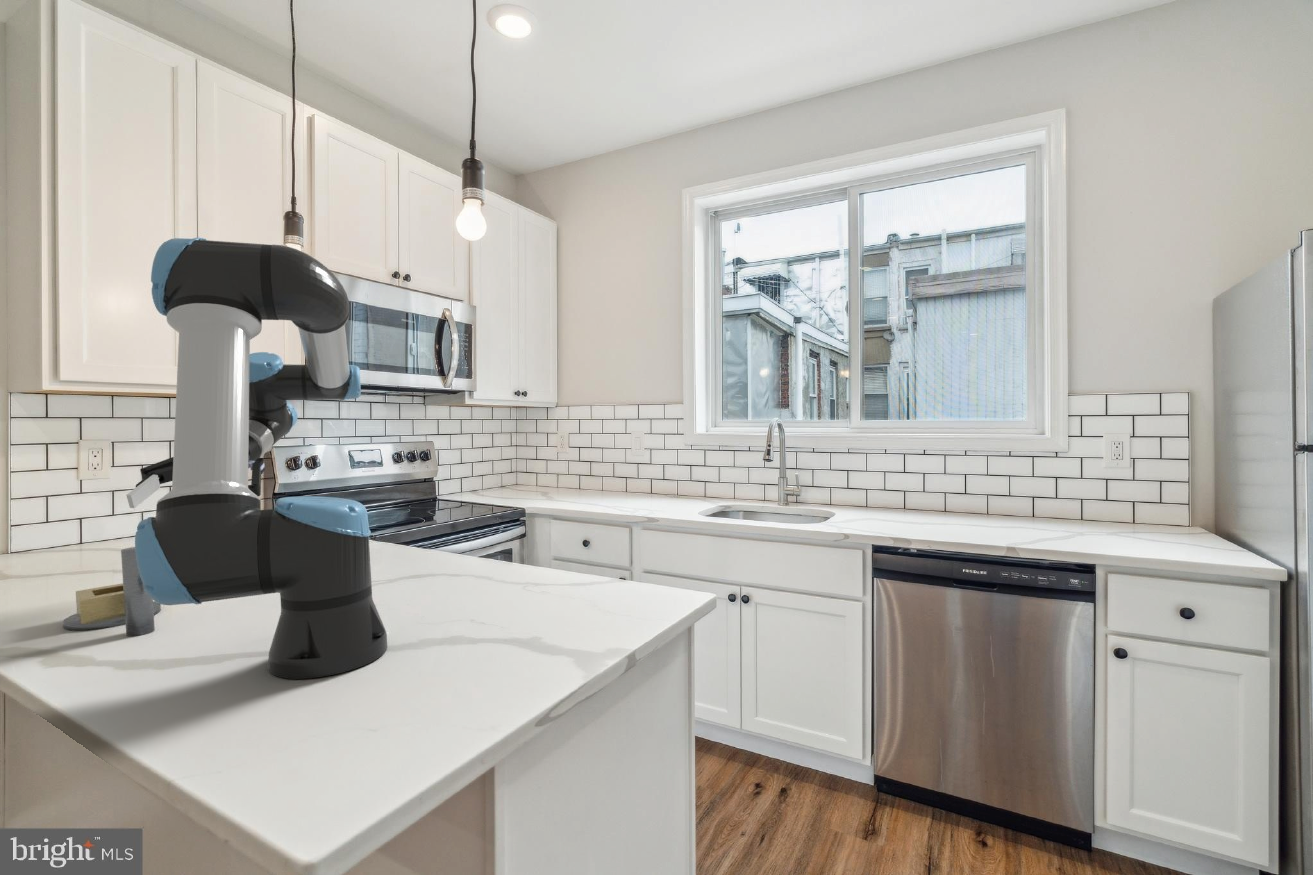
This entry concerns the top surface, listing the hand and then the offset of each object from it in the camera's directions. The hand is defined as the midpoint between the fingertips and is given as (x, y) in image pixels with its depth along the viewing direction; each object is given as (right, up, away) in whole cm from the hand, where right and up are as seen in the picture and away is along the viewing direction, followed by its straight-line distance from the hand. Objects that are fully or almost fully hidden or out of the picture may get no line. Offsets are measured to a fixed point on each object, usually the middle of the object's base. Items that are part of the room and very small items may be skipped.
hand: (172, 507), depth 106 cm
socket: (-13, -20, +4) cm, 24 cm away
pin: (-2, -20, -4) cm, 21 cm away
